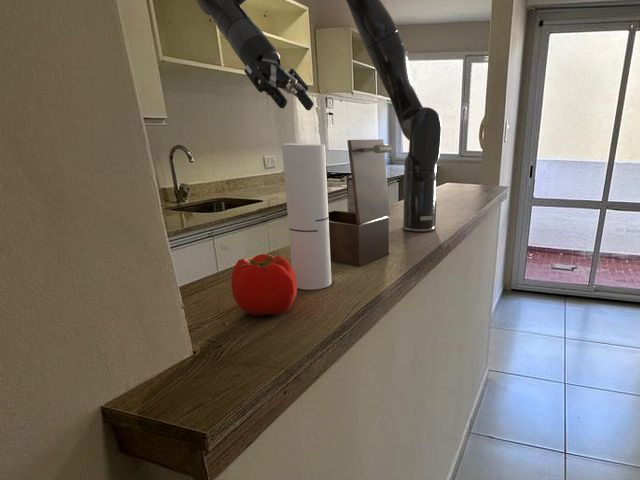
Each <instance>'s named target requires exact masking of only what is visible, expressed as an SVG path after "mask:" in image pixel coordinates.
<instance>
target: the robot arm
mask: <svg viewBox="0 0 640 480" xmlns="http://www.w3.org/2000/svg"><path fill="white" fill-rule="evenodd" d="M247 1H248V0H195V2H196V3H197V5H198V6H199V9H200V10H201V11H202V12H203V13H204V14H206V15H208V16H210V17H211V18H212V21H213V22H214V24H215V26H216V27H217V30H219V32H220V33H221V35H222V36H223V37H224V38H225V39H226V41H227V42H228V44H229V45H230V47H231V49H232V50H233V52H234V53H235V55H236V56H237V57H238V58H239V59H240V61H241V62H242V64H243V65H244V66H245V68H244V70H243V72H244V73H245V74H246V76H247V78H248V79H249V80H250V82H251V83H252V85H253V86H254V87H255V89H256V91H258V92H259V93H263V92H264V93H265V94H266V95H267V96H269V97H270V98H271V99H272V100H273V102H274V103H275V104H276V105H277V106H278V108H279V109H285V108H286V106H287V104H288V99H287V98H286V96H285V95H284V94H283V92H282V91H281V90H280V89H282V90H283V91H284V92H286V94H292V95H293V96H294V97H296V98H297V100H298V102H299V103H300V104H301V105H302V106H303V108H304V109H305V110H306V111H311V110H312V109H313V107H314V105H315V104H314V101H313V100H312V99H311V98H310V96H309V95H308V94H307V93H308V91H309V89H310V87H309V86H308V85H307V83H306V82H305V81H304V80H303V79H302V77H301V76H300V75H299V73H298V72H297V71H296V70H295V69H294V68H290V70H289V71H288V70H287V69H286V68H285V67H284V66H283V65H281V57H280V54H279V53H280V52H279V51H278V50H277V49H276V48H275V47H274V45H273V44H272V42H271V41H270V39H268V37H267V36H266V35H265V33H264V32H263V31H262V29H260V27H259V26H258V25H257V24H256V23H255V22H254V21H253V19H252V18H251V17H250V16H249V14H248V13H247V12H246V10H244V9H243V7H242V6H241V5H243V4H244V3H245V2H247ZM345 2H346V4H347V6H348V9H349V12H350V13H351V16H352V19H353V21H354V24H355V26H356V29H357V32H358V35H359V36H360V38H361V41H362V43H363V46H364V48H365V51H366V53H367V55H368V56H369V59H370V61H371V63H372V65H373V67H374V69H375V71H376V73H377V75H378V77H379V79H380V81H381V83H382V86H383V87H384V89H385V91H386V94H387V95H388V97H389V100H390V102H391V105H392V107H393V110H394V113H395V115H396V119H397V122H398V124H399V127H400V130H401V132H402V134H403V136H404V137H405V138H406V139H407V140H408V141H409V143H408V153H407V155H406V157H405V158H404V161H403V221H402V229H403V230H405V231H408V232H414V233H426V232H431V231H435V229H436V222H437V221H436V220H437V201H438V199H437V195H436V190H437V189H436V187H437V181H436V180H437V167H438V165H437V164H438V161H439V159H440V155H441V142H442V120H441V116H440V115H439V113H438V112H437V111H436V110H435V109H434V108H432V107H428V106H423V105H422V102H421V101H420V98H419V97H418V95H417V93H416V90H415V88H414V85H413V82H412V75H411V69H410V62H409V55H408V52H407V49H406V46H405V44H404V41H403V39H402V36H401V34H400V31H399V29H398V27H397V25H396V22H395V21H394V19H393V18H392V16H391V14H390V13H389V11H388V9H387V8H386V6H385V5H384V4H383V2H382V0H345ZM259 81H260V82H259ZM289 84H290V85H289ZM288 85H289V86H288Z"/></svg>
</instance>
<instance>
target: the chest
mask: <svg viewBox="0 0 640 480" xmlns="http://www.w3.org/2000/svg"><path fill="white" fill-rule="evenodd" d="M328 218H329V239H330V260H331V262H334V263H339V264H344V265H349V266H356V267H361V266H363V265H366V264H368V263H370V262H373V261H375V260H377V259H381V258H382V257H384V256H386V255H389V254H390V248H389V247H390V246H389V245H390V242H389V241H390V238H389V237H390V234H389V233H390V232H389V231H390V217H389V216H385V217H382V218H378V219H375V220H371V221H368V222H365V223H361V224H357V219H356V213H354V212H348V211H345V210H337V209H333V210H328Z"/></svg>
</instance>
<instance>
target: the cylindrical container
mask: <svg viewBox="0 0 640 480" xmlns="http://www.w3.org/2000/svg"><path fill="white" fill-rule="evenodd" d="M281 151H282V160H283V161H282V164H283V176H284V186H285V187H284V188H285V200H286V212H287V213H286V214H287V222H288V235H289V236H288V237H289V249H290V260H291V267H292V269H293V271H294V274H295V276H296V281H297V289H300V290H307V291H308V290H309V291H311V290H312V291H313V290H321V289H322V290H323V289H326V288H328V287H330V286H331V285H332V283H333V282H332V264H331V262H332V261H331V260H330V239H329V218H328V211H329V202H328V201H329V199H328V198H329V197H328V179H327V178H328V177H327V159H326V156H327V155H326V144H323V143H322V144H321V143H299V142H296V143H295V142H294V143H291V142H289V143H287V142H286V143H281Z"/></svg>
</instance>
